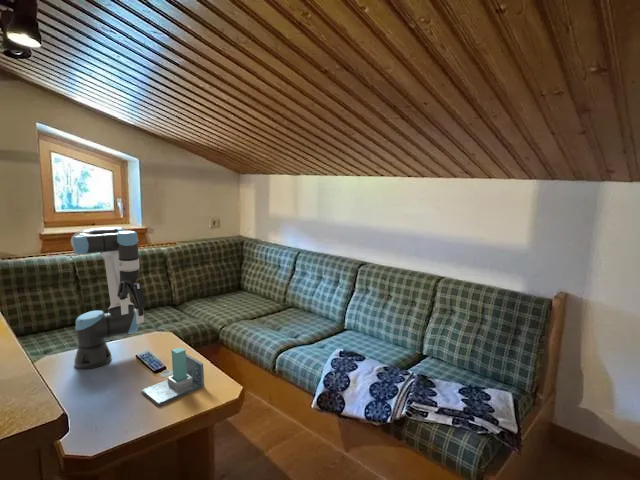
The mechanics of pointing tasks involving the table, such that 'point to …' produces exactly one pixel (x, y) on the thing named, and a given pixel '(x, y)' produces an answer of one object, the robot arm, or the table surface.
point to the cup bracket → (177, 384)
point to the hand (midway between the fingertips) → (132, 318)
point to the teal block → (179, 364)
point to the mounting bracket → (167, 373)
